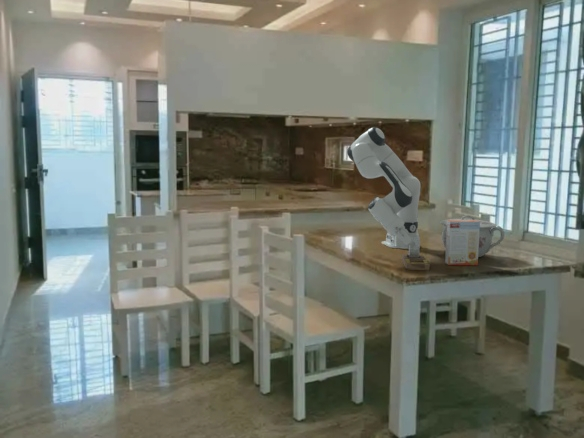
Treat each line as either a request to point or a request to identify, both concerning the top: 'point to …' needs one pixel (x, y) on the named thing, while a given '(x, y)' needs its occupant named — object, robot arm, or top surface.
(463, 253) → the cracker box
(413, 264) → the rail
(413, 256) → the peg
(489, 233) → the chamber pot
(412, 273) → the top surface
